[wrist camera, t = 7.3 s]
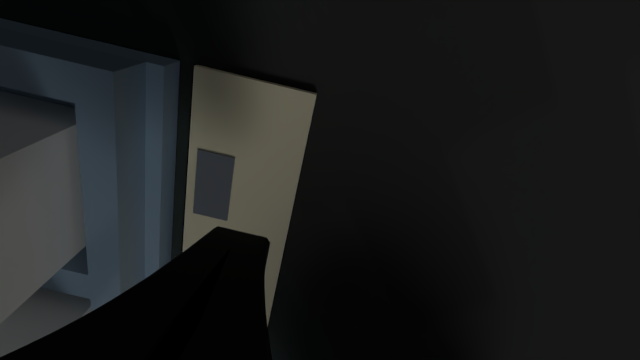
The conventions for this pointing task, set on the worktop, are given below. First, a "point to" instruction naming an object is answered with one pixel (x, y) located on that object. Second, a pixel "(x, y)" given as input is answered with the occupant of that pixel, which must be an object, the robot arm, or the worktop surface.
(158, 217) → the dark blue tray
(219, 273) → the robot arm
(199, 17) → the worktop surface
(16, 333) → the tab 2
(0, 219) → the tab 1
